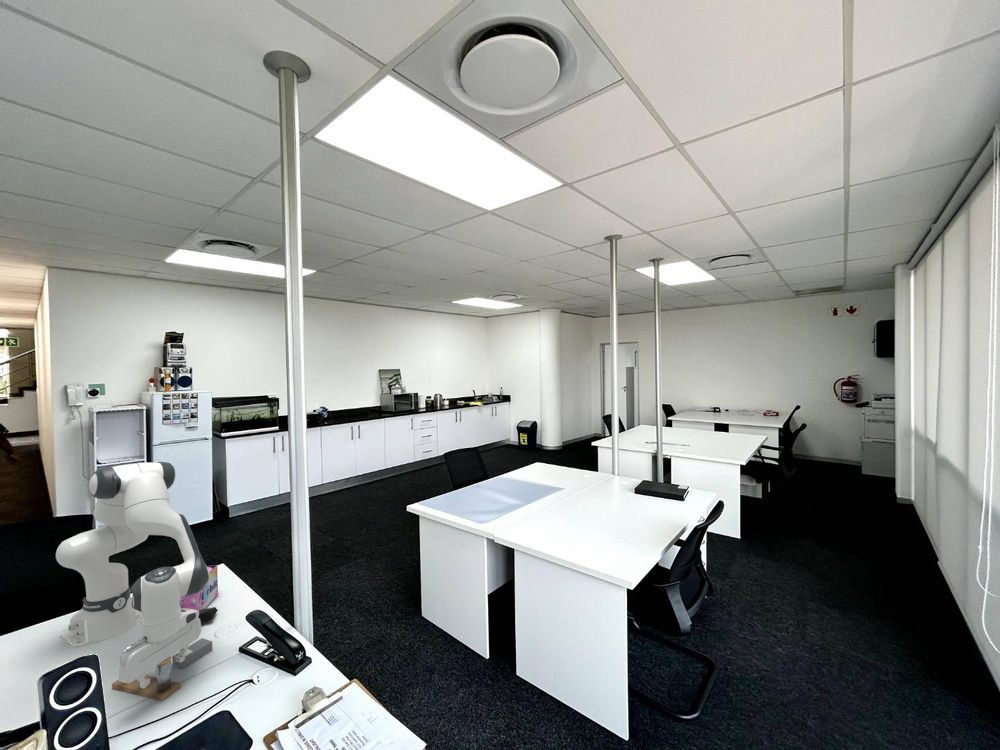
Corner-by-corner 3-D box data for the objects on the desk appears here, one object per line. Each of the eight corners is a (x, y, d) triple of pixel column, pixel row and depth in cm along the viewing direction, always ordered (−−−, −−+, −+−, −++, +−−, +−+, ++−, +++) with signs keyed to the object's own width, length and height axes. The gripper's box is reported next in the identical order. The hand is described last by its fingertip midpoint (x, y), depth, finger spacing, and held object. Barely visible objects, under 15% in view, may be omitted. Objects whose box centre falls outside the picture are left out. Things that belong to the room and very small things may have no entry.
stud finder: (172, 668, 127) (172, 655, 127) (202, 649, 135) (202, 637, 135) (183, 672, 125) (182, 659, 125) (212, 652, 133) (212, 640, 133)
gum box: (187, 628, 146) (186, 594, 146) (164, 630, 145) (163, 596, 145) (218, 594, 168) (218, 564, 168) (199, 596, 167) (198, 566, 167)
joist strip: (112, 691, 117) (111, 683, 117) (131, 678, 122) (131, 671, 122) (162, 705, 112) (162, 697, 112) (180, 691, 117) (180, 683, 117)
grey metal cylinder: (153, 691, 114) (152, 662, 114) (166, 682, 117) (165, 654, 117) (162, 694, 113) (161, 664, 113) (174, 684, 117) (173, 656, 116)
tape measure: (211, 621, 148) (211, 610, 148) (189, 626, 145) (189, 615, 146) (217, 615, 154) (217, 605, 155) (196, 620, 151) (196, 610, 152)
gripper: (128, 653, 104) (130, 705, 104) (204, 607, 124) (205, 651, 124) (111, 649, 106) (112, 700, 106) (188, 605, 126) (190, 648, 126)
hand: (163, 673), depth 115 cm, fingers open, 8 cm apart
